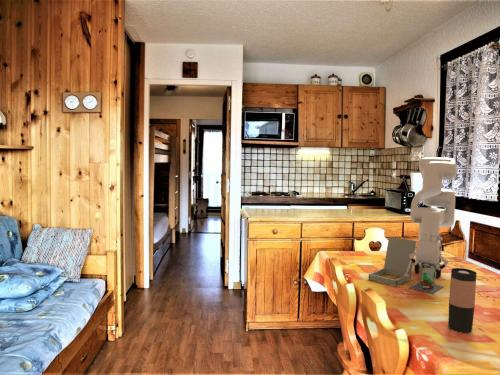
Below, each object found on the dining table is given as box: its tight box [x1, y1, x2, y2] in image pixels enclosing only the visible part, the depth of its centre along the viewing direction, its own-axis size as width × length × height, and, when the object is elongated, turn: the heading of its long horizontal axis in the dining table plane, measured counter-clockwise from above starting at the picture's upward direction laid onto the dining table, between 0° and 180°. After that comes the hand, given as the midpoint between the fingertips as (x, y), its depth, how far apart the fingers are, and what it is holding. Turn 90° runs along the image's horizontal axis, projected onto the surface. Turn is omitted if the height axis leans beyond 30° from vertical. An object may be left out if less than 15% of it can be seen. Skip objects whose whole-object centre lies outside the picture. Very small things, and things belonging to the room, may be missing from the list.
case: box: [368, 236, 417, 287], centre depth 189 cm, size 21×14×18 cm, turn 137°
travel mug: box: [447, 267, 478, 334], centre depth 133 cm, size 8×8×20 cm
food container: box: [419, 262, 437, 290], centre depth 176 cm, size 12×6×10 cm, turn 162°
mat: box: [408, 281, 444, 295], centre depth 177 cm, size 14×10×1 cm
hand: (427, 275), depth 176 cm, fingers open, 8 cm apart
